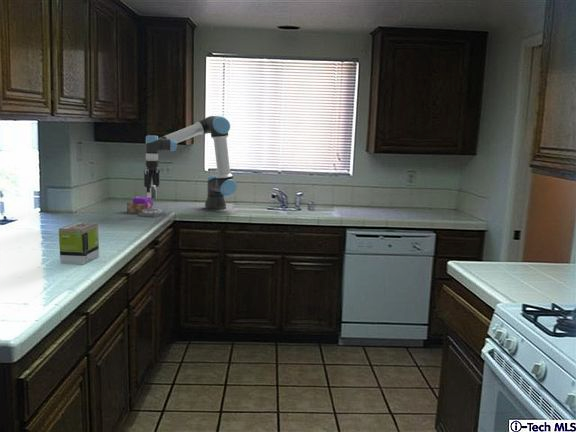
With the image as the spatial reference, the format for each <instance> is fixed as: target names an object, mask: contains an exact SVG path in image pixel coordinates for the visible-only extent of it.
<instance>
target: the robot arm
mask: <svg viewBox="0 0 576 432" xmlns="http://www.w3.org/2000/svg"><path fill="white" fill-rule="evenodd" d="M230 129H231V123H230V120H229V119H228V118H227V117H226V116H223V115H215V116H214V115H211V116H207V117H205V118H203V119H200V120H198V121H197V120H196V122H195V124H191V125H189V126H187V127H184V128H182V129H179V130H177V131H174V132H171V133H168V134H165V135H164V136H161V137H159V136H158V135H149V134H148V135H146V136H145V167H146V170H143V175H144V177H143V179H144V181H143V182H144V183H143V184H144V185H143V186H144V187H145V188H146V197H147V198H151V187H150V186H151V185H156V198H157V197H158V195H157V194H158V193H157V192H158V187H159V186H160V172H161V170H160V169H158V167H159V161H158V160H159V152H175V151H176V150H177V147H178V144H179V143H182V142H184V141H186V140H189V139H191V138H194V137H197V136H199V135H201V136H204V135H207V134H210V137H211V138H212V139H213V145H214V152H215V161H216V171H217V175H209V176H208V177H207V180H206V181H207V186H206V187H207V189H206V190H207V194H206V195H207V196H206V199H205V200H206V201H205V203H204V209H207V210H223V209H224V210H225V209H227V204H226V203H227V202H226V200H225V197H230V196H233V195H234V194H235V193H236V191H237V188H238V186H237V182H236V180H234V175H233V174H232V173H231V169H230V168H231V167H230V166H231V165H230V159H229V157H230V156H229V149H228V148H229V147H228V140H227V139H228V137H229V132H230ZM151 199H152V198H151Z"/></svg>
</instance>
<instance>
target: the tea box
mask: <svg viewBox="0 0 576 432" xmlns="http://www.w3.org/2000/svg"><path fill="white" fill-rule="evenodd" d="M58 242H59V259H60V260H59V261H60V264H61V265H77V266H78V265H79V266H80V265H85V264H87V263H89V262H91V261H93V260H94V259H96V258H98V257H100V248H99V247H100V245H99V243H100V241H99V224H98V222H97V223H96V222H73V223H71V224H68V225H65V226H63V227H60V228H58Z"/></svg>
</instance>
